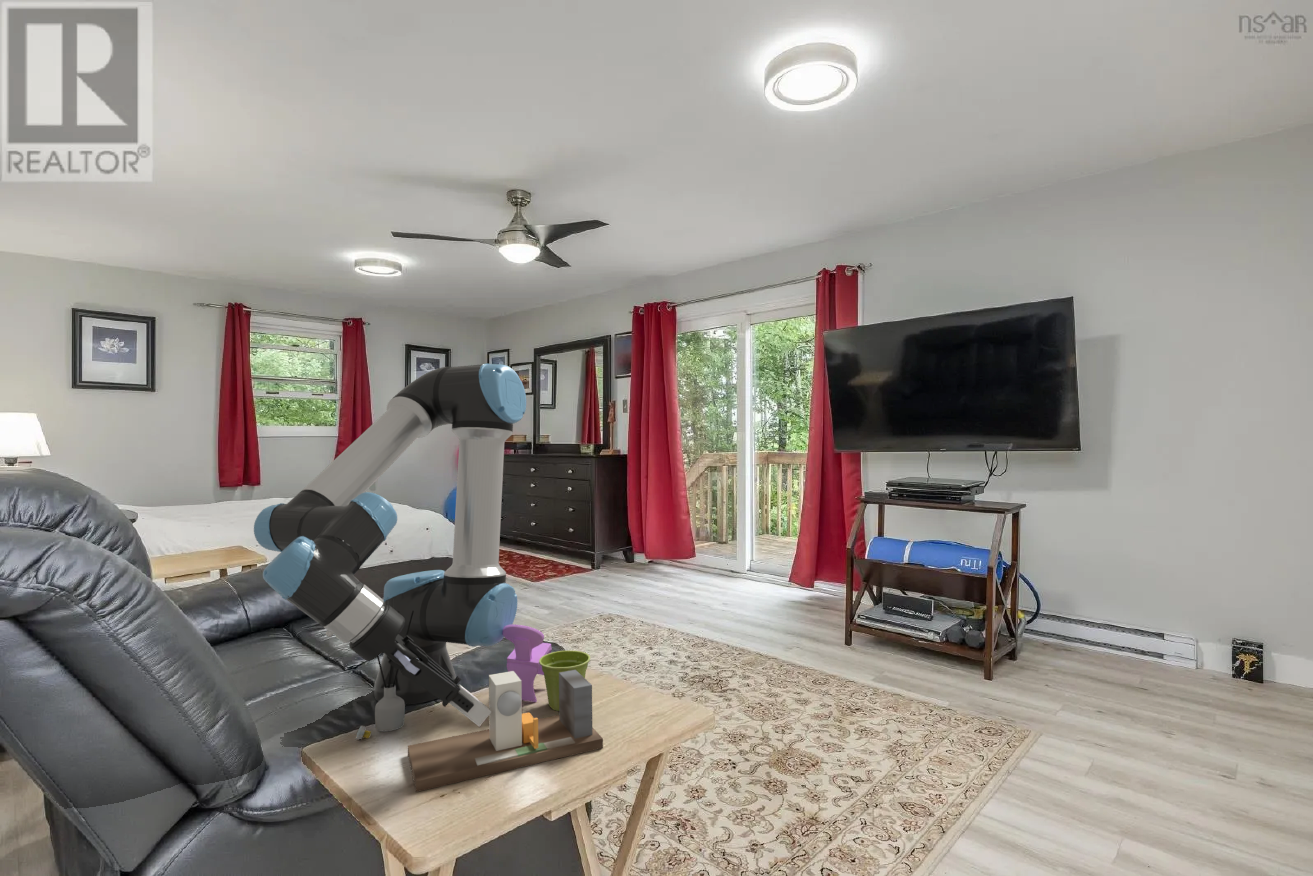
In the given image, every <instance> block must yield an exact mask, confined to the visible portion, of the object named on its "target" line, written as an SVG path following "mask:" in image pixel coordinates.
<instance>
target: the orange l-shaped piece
mask: <svg viewBox="0 0 1313 876" xmlns="http://www.w3.org/2000/svg"><path fill="white" fill-rule="evenodd" d="M538 719H539V718H538V717H534V716H533V715H532V713H530V712H522V741H523V743H528V742H530V743H531V744H532V746H533V747H534V749H536V748H538Z"/></svg>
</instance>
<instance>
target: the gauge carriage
mask: <svg viewBox="0 0 1313 876" xmlns="http://www.w3.org/2000/svg"><path fill="white" fill-rule="evenodd" d="M522 701H523V700H522V682H521V680H520V678H519V677H518V676H517V675H516V673H515V672H514V671H510V672H508V671H505V672H499V673H494V674H488V707H489V708H490V710H491V713H490V715H489V716H488V725H489V727H488V729H489V738H490V740H491V742H492V744H493V746H494V748H495V750H496V751H499V750H503V749H508V748H512V747H517V746H521V745H522V714H523V712H522V711H523V708H522V706H523V704H522V703H523V702H522Z"/></svg>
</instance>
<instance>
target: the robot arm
mask: <svg viewBox="0 0 1313 876" xmlns="http://www.w3.org/2000/svg"><path fill="white" fill-rule="evenodd" d="M523 384H524V383H523V382H522V380H521V379H520V376H519V374H517V372H516V371H515V370H514V369H513V368H511V367H510V366H508V365H507V364H506V365H505V364H499V363H497V364H495V363H482V364H471V365H470V364H469V365H460V366H442V367H438V368H435V369H433V370H430V371H429V372H426V373H424V374H422V375H421V376H419V377H418V378H416V379H415V380H413V381H412V382H410V383H409V384H408V385H406V386H405V387H403V388H402V389H401V390H400V391H398V393H397V394H395V395H394V396H393V397H392V398H391V399H389V400H388V402H387V405H386V411H385V412H384V413H383V414H382V415H381V416H380V417H379V418H378V419H377V420H375V422H373V423H372V424H371V425H370V426H369V427H367V429H366V430H365V431H363V432H362V434H361V435H359V437H358V438H356V439H355V440H354V441H353V442H352V443H351V444H350V445H349V446H348V447H347V448H345V449H344V450H343V452H341V453H340V454H339V455H338V456H337V457H336V458H335V459H333V461H332V462H330V464H328V465H327V466H326V467H325V468H324V469H323V470H322V471H320V473H319V474H318V475H316V476H315V477H314V478H313V479H312V480H311V481H310V482H309V483H308V484H307V485H306V486H305V487H304V488H303V489H302V490H300V491H299V492H298V493H297V494H296V495H294V497H293V498H292V499H290V500H289V502H287V503H283V502H281V503H277V504H271V505H269V506H267V507H264V508H263V509H262V510H261V511H260V512H259V513H258V515H257V516H256V519H255V520H254V524H253V535H254V538H255V540H256V541H257V543H258V544H259V546H261V547H263V548H264V549H266V550H268V551H273V552H278V553H279V554H277V555H276V556H275V557H274V558H273V559H272V560H271V561H270V562H269V563H268V565H266V566H265V568H264V569H263V572H262V579H263V580H264V581H265V583H267V584H268V586H269V587H270V588H271V589H273V590H274V591H275V592H276V593H277V594H279V595H280V596H281V598H282V599H283V600H286V601H288V602H289V603H291V604H292V605H293V606H294V607H296V608H297V609H298V610H300V611H301V612H303V614H305V615H307V616H308V617H309V618H310V619H312V620H313V621H314V622H316V623H317V624H318V625H320V626H321V627H323V628H324V629H325V630H327V631H325V636H326V637H327V638H331V637H332V636H335V637H336V638H337V639H338V640H339V641H340V642H341V643H343V644H348V643H349V644H348V646H349V649H350V650H351V651H353V652H354V653H355V654H357V655H358V656H359V657H361V658H362V659H363V660H364V661H367V662H370V661H373V660H375V659H376V658H377V657H378V655H379V656H380V655H382V654H383V656H382V661H380V663H381V667H382V671H383V675H384V679H385V683H386V685H388V681H389V674H390V666H391V665H392V666H393V667H394V668H393V674H392V679H391V684H393V683H394V679H395V675H396V672H397V669H399V670H398V674H397V678H396V682H395V685H396V695H397V696H398V697H400V698H402V699H403V700H404V703H405V706H406V705H414V704H422V703H427V702H431V701H433V700H436V699H439V700H440V701H442V702H441V704H442V706H443V707H444V708H446V707H447V706H448V705H451V706H452V707H453V708H455V709H456V710H457V711H458V712H460V713H461V715H464V716H465V717H466V718H468V719H469V720H470V721H471V722H473V724H475V725H477V726H478V727H481V725H482V724H483V723H484V722H485V721H486V719H487V718H489V715H490V713H491V710H490V708H489V706H488V705H486V704H485V703H484V702H482V701H481V700H480V699H478V697H476V696H475V695H474V694H472V692H470V691H469V690H467V689H466V688H465V687H463V686H462V685H461V684H459V683H460V682H461V681H462V679H461V677H460V676H459V675H456V672H455V669H454V666H453V663H452V660H451V658H450V655H449V650H448V647H447V643H450V644H458V645H459V644H460V645H466V646H469V647H472V648H474V647H492V646H495V645H497V644H499V643H500V642H501V641H502V640H503V639H504V638H505V637H504V636H503V633H502V632H503V628H504V627H505V626H507V625H512V624H514V621H515V618H516V614H517V610H518V595H517V593H516V589H515V588H514V587H513V586H512V585H510V584H509V583H506V582H507V572H506V571H505V569H504V568H503V567H501V565H500V563H499V561H500V542H501V541H500V539H501V538H500V537H501V523H502V522H501V519H502V517H501V516H502V502H503V501H502V498H503V497H502V496H503V481H504V480H503V479H504V477H503V475H504V458H505V457H504V456H505V442H506V441H507V440H508V439H509V438H510V437H511V436H512V435H513V431H514V424H517V423H518V422H520V421H521V420H522V419H523V417H524V415H525V414H526V410H527V395H526V390H525V387H524V385H523ZM445 425H451V432H452V433H453V434H454V435H455V436H456V437H457V438H458V440H459V442H458V461H457V475H456V476H457V479H456V492H455V493H456V495H455V515H454V517H455V518H454V529H453V532H454V533H453V549H452V550H453V551H452V552H453V553H452V564H451V566H449V567H448V568H447V569H446V570H442V569H433V570H425V571H423V570H422V571H416V572H412V573H407V574H404V575H398V576H395V577H393V578H390V579H388V580H387V581H386V583H385V584H384V587H383V598H381V596H379V595H378V594H377V593H376V592H374V591H373V589H371V588H369V586H367V585H366V584H364V583H363V582H362V581H360V580H359V579H358V578H357V577H356V576H354V575H355V574H356V573H357V572H358V570H360V568H361V567H362V566H363V565H364V563H365V562H366V561H367V560H368V559H369V558H370V556H372V554H373V553H374V552H375V551H376V550H377V549H378V548H379V547H380V546H381V545H382V543H383V542H385V541H386V540H387V537H388V536H389V534H390V533H391V532H392V530H393V529H394V528H395V526H396V525H397V523H398V514H397V511H396V510H395V508H394V506H393V504H392V503H391V502H390V501H389V500H387V499H386V498H384V496H381V495H380V494H377V493H375V492H369V491H368V490H369V489H370V487H372V485H374V484H375V483H376V481H377V480H378V479H380V478H381V476H382V475H383V474H384V473H385V472H386V471H387V470H388V469H389V468H390V467H391V466H392V465H393V463H395V461H397V460H398V458H399V457H400V456H402V455H403V454H404V452H405V451H406V450H407V449H409V447H410V446H411V445H412V444H413V443H414V442H415V441H416V440H417V439H420V438H425V437H427V436H428V435H429V434H430V433H431V432H432V431H433V430H434V429H435V428H438V427H441V426H445ZM398 611H399V613H398ZM412 611H414V612H413V616H412V620H411V624H410V628H409V632H408V636H407V635H406V633H407V629H408V625H409V622H410V618H411V614H412ZM373 686H374V687H373V690H374V693H373V696H374V699H375V700H376V701H377V702H379V701H380V700H381V699H382V698H383V697H384V682H383V678H382V674H381V670H380V668H379V669H378V672H377V674H376V678H375V681H374V685H373Z"/></svg>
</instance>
